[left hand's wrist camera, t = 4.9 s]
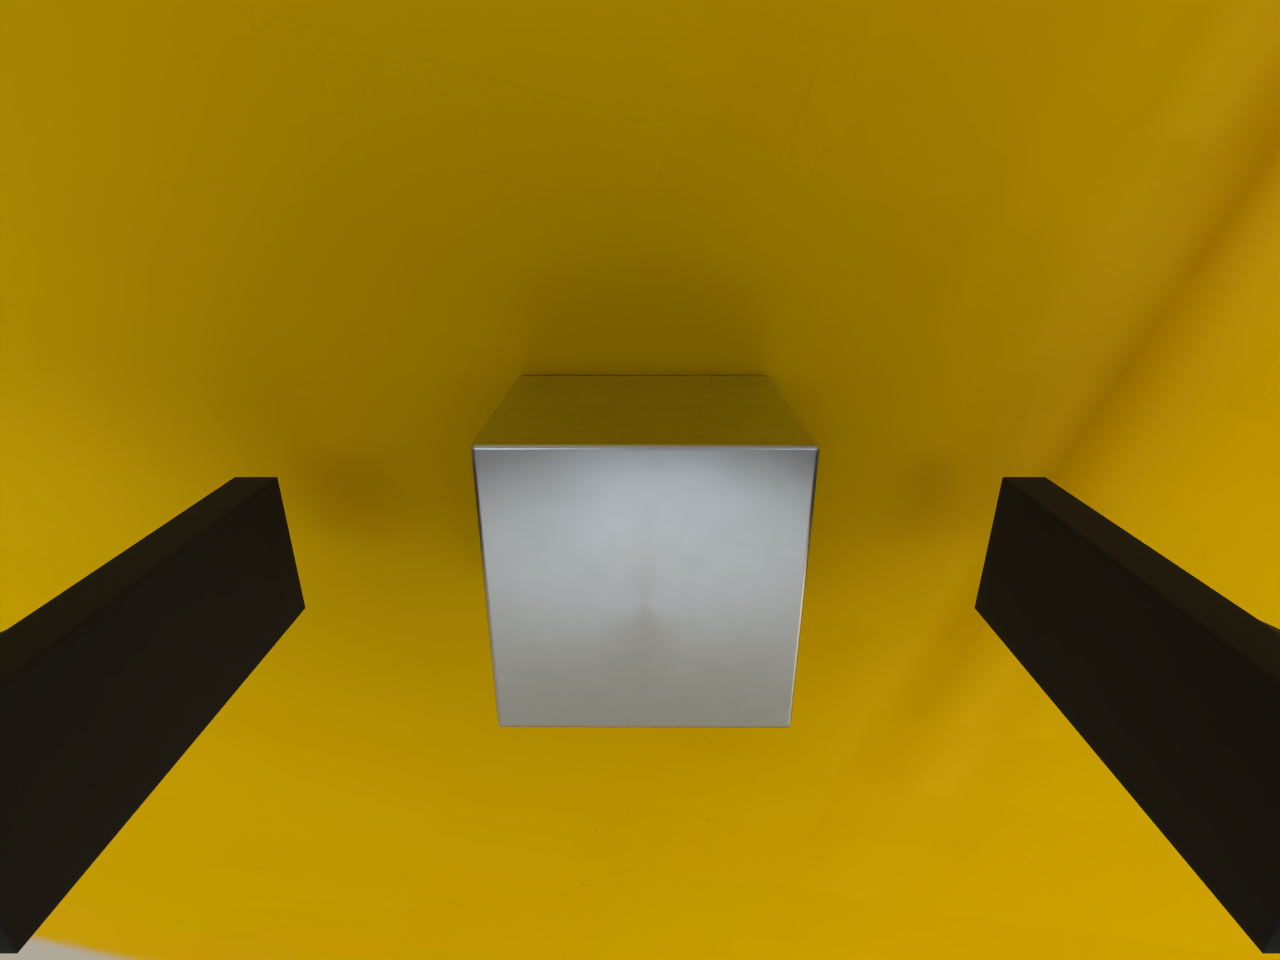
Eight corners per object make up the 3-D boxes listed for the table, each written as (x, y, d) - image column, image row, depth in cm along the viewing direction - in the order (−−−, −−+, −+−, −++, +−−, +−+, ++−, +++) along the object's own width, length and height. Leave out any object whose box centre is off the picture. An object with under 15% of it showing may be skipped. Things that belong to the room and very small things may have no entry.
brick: (534, 595, 15) (497, 728, 12) (519, 374, 14) (469, 445, 10) (753, 596, 15) (791, 729, 12) (770, 375, 14) (822, 445, 10)
